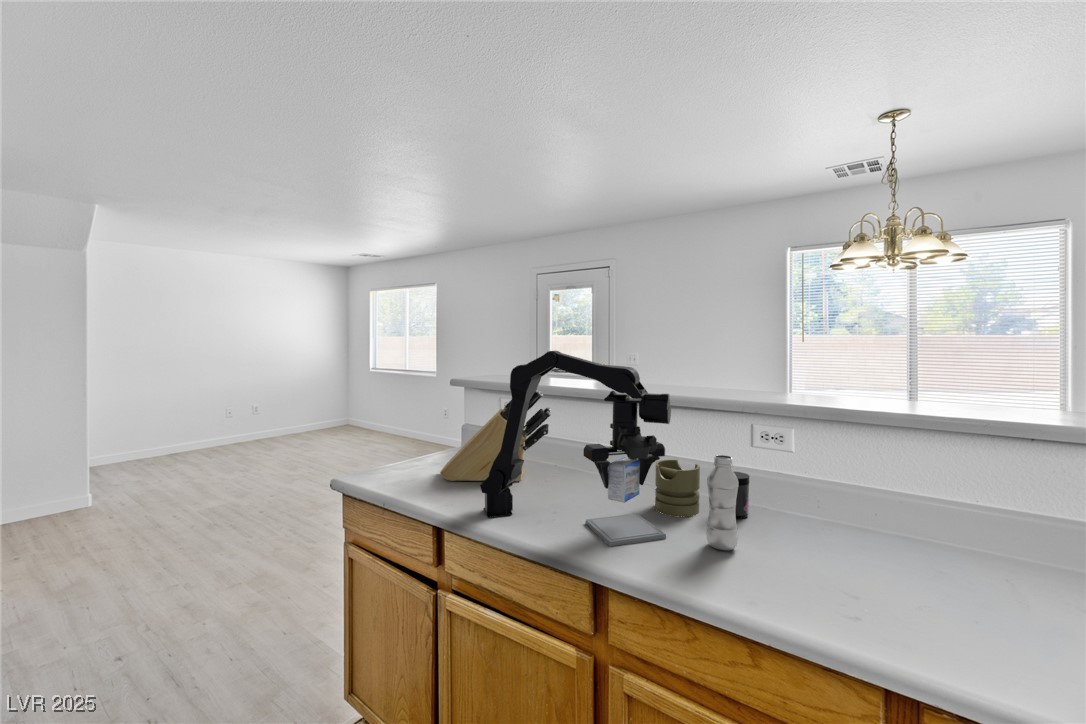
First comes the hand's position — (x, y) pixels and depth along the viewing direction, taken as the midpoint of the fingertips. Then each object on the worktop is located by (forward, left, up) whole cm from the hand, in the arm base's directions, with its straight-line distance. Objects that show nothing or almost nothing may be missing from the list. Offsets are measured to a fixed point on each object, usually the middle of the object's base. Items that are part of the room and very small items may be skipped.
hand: (624, 486), depth 118 cm
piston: (+20, +9, -11) cm, 24 cm away
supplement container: (+32, +1, -11) cm, 34 cm away
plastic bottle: (+16, -15, -11) cm, 25 cm away
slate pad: (0, 0, -11) cm, 11 cm away
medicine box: (0, 0, -3) cm, 3 cm away
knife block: (-19, +53, -11) cm, 57 cm away
